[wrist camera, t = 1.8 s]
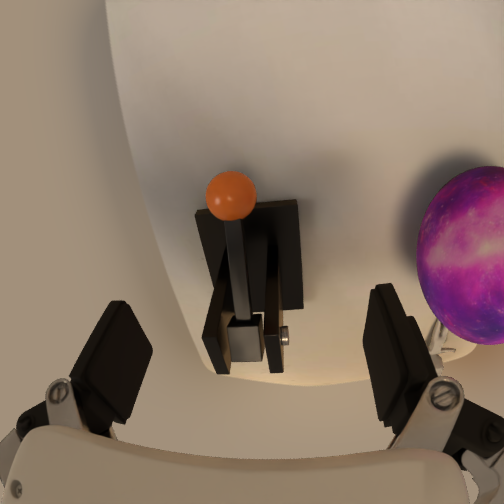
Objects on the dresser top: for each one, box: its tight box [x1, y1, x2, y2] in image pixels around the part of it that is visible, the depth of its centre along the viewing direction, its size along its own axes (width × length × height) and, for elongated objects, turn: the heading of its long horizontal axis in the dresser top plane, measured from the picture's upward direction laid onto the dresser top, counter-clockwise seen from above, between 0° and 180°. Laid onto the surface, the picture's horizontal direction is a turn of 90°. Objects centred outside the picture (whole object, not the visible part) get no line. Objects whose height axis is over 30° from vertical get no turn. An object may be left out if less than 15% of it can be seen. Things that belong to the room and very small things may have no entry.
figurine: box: [428, 319, 456, 377], centre depth 33 cm, size 8×5×12 cm
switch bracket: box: [195, 199, 304, 374], centre depth 24 cm, size 12×9×12 cm
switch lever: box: [206, 171, 265, 362], centre depth 20 cm, size 13×3×3 cm, turn 9°
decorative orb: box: [416, 166, 504, 345], centre depth 18 cm, size 15×15×15 cm
